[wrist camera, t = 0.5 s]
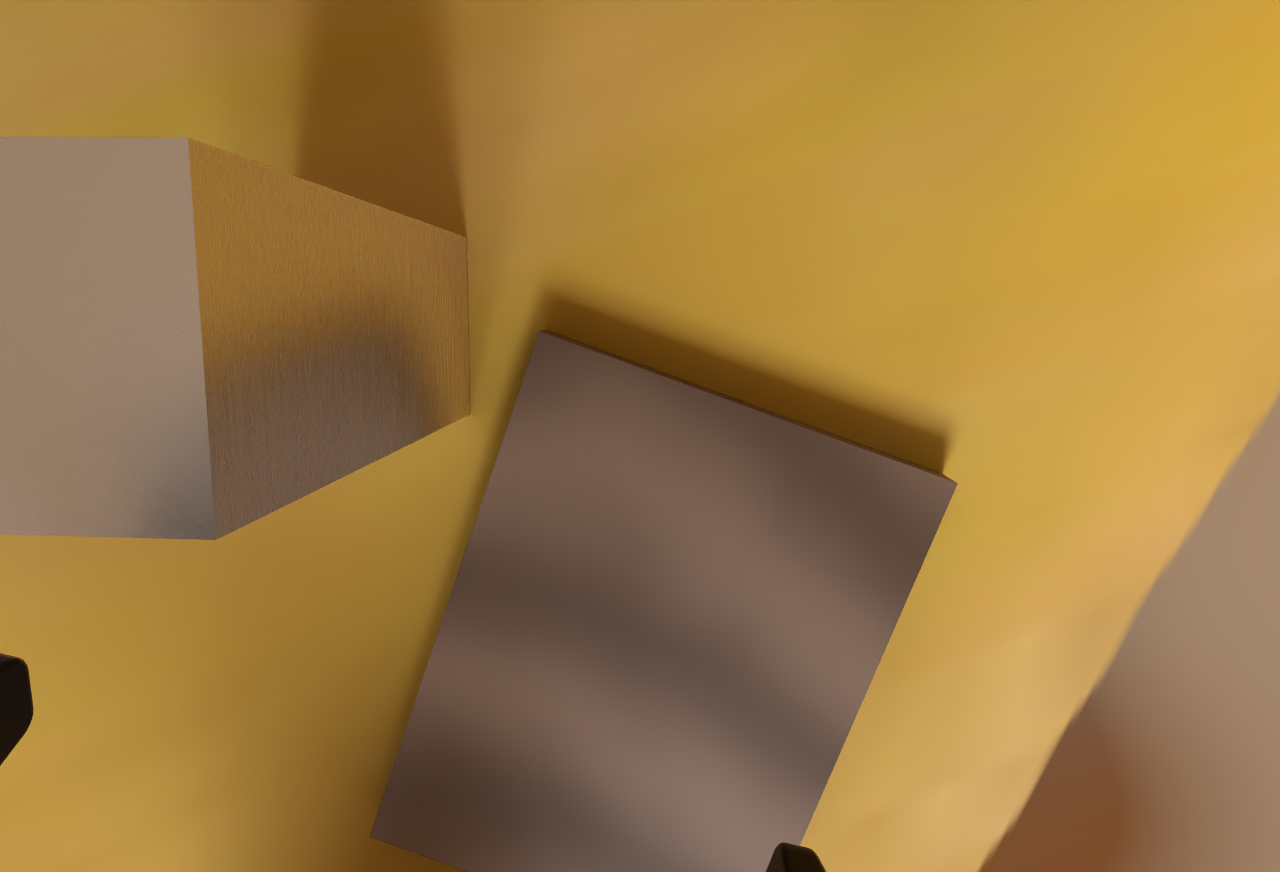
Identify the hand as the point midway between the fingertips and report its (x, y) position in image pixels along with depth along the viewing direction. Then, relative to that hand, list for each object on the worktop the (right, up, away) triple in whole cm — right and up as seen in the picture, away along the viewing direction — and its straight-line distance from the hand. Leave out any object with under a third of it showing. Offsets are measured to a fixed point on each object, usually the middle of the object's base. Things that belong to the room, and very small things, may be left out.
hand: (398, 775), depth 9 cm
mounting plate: (+3, -2, +15) cm, 15 cm away
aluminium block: (-5, +7, +14) cm, 16 cm away
